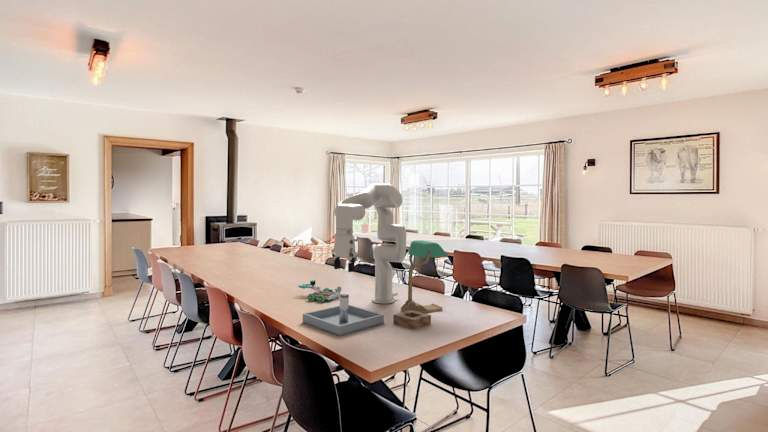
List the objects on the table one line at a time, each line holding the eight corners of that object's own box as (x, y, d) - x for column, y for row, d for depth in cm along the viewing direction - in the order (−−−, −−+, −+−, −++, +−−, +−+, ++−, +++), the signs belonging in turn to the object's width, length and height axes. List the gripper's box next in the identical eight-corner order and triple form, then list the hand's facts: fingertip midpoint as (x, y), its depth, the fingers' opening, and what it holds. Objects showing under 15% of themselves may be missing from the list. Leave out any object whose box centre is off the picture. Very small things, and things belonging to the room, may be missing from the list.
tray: (346, 311, 211) (346, 303, 211) (384, 323, 193) (384, 314, 192) (302, 322, 192) (302, 313, 192) (339, 336, 174) (339, 326, 174)
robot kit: (308, 292, 254) (308, 276, 254) (344, 296, 244) (344, 280, 244) (289, 298, 237) (289, 282, 237) (327, 304, 227) (327, 286, 227)
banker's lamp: (397, 309, 218) (398, 240, 216) (431, 304, 227) (432, 239, 226) (413, 316, 204) (414, 244, 202) (448, 312, 213) (450, 242, 212)
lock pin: (344, 319, 195) (345, 293, 195) (349, 321, 192) (350, 295, 192) (337, 321, 193) (338, 294, 192) (342, 323, 190) (343, 296, 189)
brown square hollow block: (410, 318, 201) (410, 309, 201) (430, 323, 193) (430, 315, 193) (393, 323, 193) (393, 314, 193) (413, 329, 184) (413, 320, 184)
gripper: (363, 233, 187) (363, 271, 188) (338, 230, 200) (338, 266, 200) (350, 234, 182) (350, 274, 183) (325, 231, 194) (325, 268, 195)
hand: (344, 270), depth 192 cm, fingers open, 9 cm apart
